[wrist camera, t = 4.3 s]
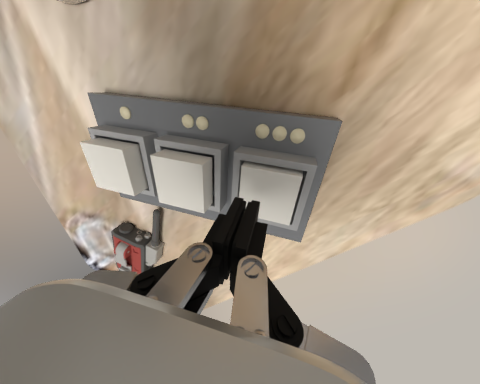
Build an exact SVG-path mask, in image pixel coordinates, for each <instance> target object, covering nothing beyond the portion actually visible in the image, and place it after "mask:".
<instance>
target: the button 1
mask: <svg viewBox="0 0 480 384" xmlns="http://www.w3.org/2000/svg"><path fill="white" fill-rule="evenodd" d="M80 144H81V147H82V149H83V152H84V154H85V157H86V160H87V162H88V165H89V167H90V170H91V172H92V175H93V178H94V180H95V183H96V185H97V187H99V188H103V189H107V190H111V191H115V192H119V193H123V194H127V195H131V196H136V195H137V194H139V193H141V192H142V191H144V190H145V189H147V188H148V185H147V180H146V176H145V171H144V167H143V162H142V157H141V153H140V148H139V144H133V143H128V142H122V141H116V140H111V139H105V138H95V139H90V140H86V141H82V142H80Z"/></svg>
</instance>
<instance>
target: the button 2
mask: <svg viewBox="0 0 480 384" xmlns="http://www.w3.org/2000/svg"><path fill="white" fill-rule="evenodd" d="M150 157H151V162H152V167H153V173H154V178H155V183H156V188H157V193H158V199H159V202H160V203H164V204H168V205H172V206H176V207H180V208H184V209H188V210H192V211H196V212H200V213H205V212H206V211H207V209H208V208H209V207H210V205H211V204H212V203H213V183H212V157H207V156H202V155H196V154H190V153H185V152H179V151H173V150H168V149H163V150H161V151H159V152H156V153H154V154H152V155H150Z"/></svg>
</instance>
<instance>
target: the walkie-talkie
mask: <svg viewBox="0 0 480 384" xmlns="http://www.w3.org/2000/svg"><path fill="white" fill-rule="evenodd" d="M159 231H160V212H159V210H158V209H156V210H154V212H153V231H152V235H150V233H149V232H147V233H146V232H144V231H142V230H139V229H137V228H135V227H133V225H132V224H130V223H125V222H123V223H122V224H121V225H119V226H118V227H117V228H115V229H114V230H112V231H111V232H112V239H113V245H114V253H115V261H116V264H117V267H118V269H119V271H132V272H137V274H140V273H142V272H144V271H146V270H149V269H151V268H152V267H153V266H152V265H153V264H155V263H157V261H158V260H159V259H160V258H161V257H162V250H163V246H164V243H163V242H161V241H160V238H159Z"/></svg>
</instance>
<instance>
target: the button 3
mask: <svg viewBox="0 0 480 384" xmlns="http://www.w3.org/2000/svg"><path fill="white" fill-rule="evenodd" d="M302 178H303V171H302V170H296V169H290V168H285V167H279V166H273V165H267V164H261V163H256V162H250V161H245V162H244V163H243V165H242V166H241V178H240V191H239V198H243V199H244V201H246V207H247V204H248V202H251V201H252V200H254V201H259V202H260V207H259V214H258V218H259V219H264V220H268V221H272V222H276V223H280V224H285V225H290V221H291V217H292V214H293V210H294V207H295V203H296V199H297V196H298V192H299V189H300V185H301V182H302Z"/></svg>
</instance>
